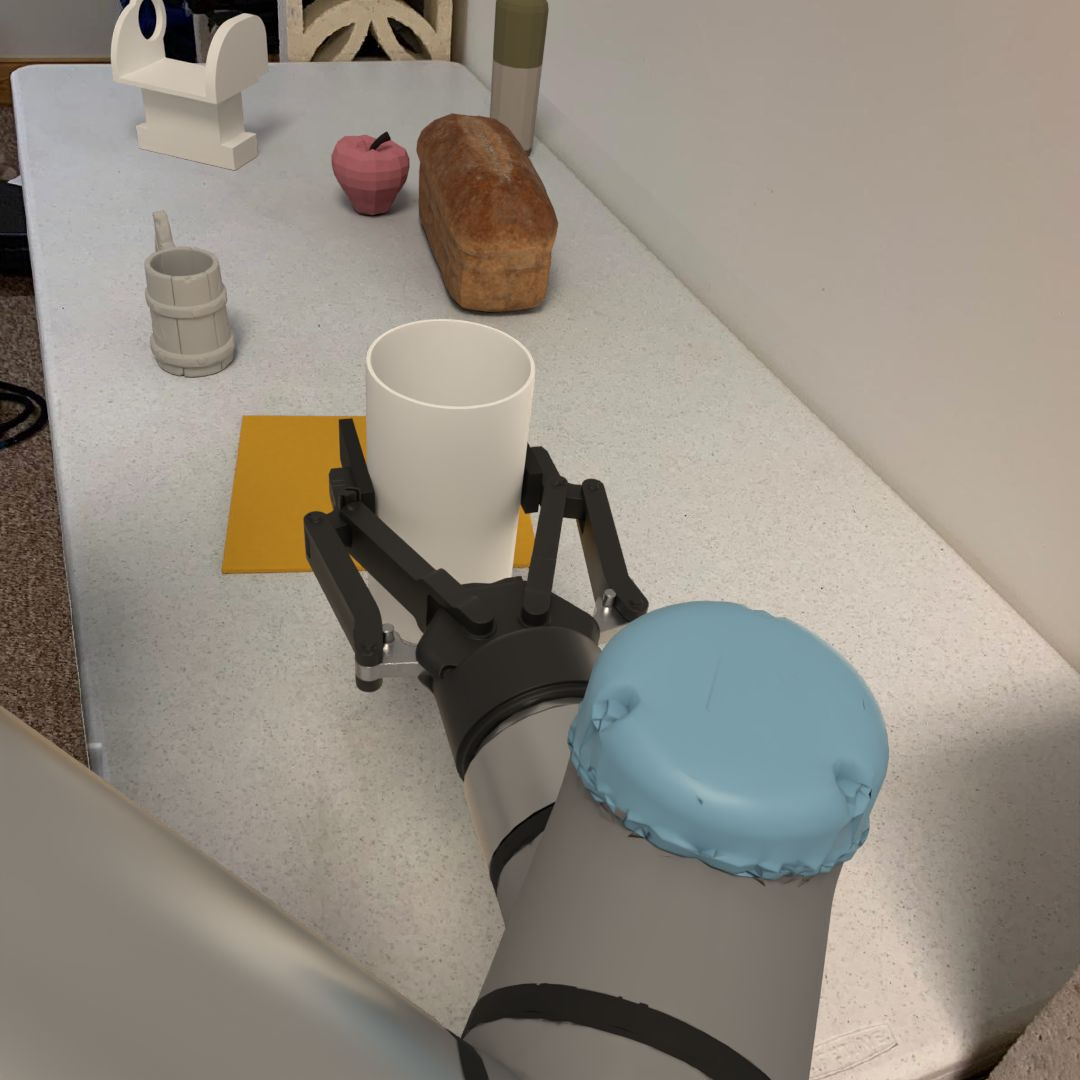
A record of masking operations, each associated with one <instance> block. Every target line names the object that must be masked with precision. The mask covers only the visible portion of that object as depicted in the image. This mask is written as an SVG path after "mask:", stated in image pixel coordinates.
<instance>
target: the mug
mask: <svg viewBox="0 0 1080 1080" xmlns="http://www.w3.org/2000/svg"><path fill="white" fill-rule="evenodd" d="M152 219H153V224H154V232H155V233H154V252H153V253H151V254H149V255H148V257H146V259H144V264H143V265H144V273H145V281H146V282H145V283H146V287H145V291H144V297H145V302H146V305H147V307H148V308H149V313H150V320H151V330H152V333H151V335H150V339H149V344H150V350H151V352H152V353H151V354H153V356H154V357H155V359H156V362H157V363H158V364H159V367H160V368H161V369H162V370H164V371H165V372H167V373H169V374H172V375H176V376H178V377H181V376H184V377H186V378H198V377H199V378H201V377H205V376H210V375H214V374H217V373H219V372H221V371H222V370H225V369H226V368H227V367H228V366H229V364H230V363H231V362H233V360H234V356H235V355H234V351H235V350H236V344H237V343H236V336H235V332H234V331H233V330H232V328H231V327H230V321H229V315H228V310H227V303H228V292H227V287H226V285H225V284H224V283H223V278H222V272H221V267H220V261H219V260H218V257H217V256H216V255H215V254H214V253H212V252H211V251H209V250H206V249H204V248H201V247H196V246H194V247H191V246H187V245H178V246H176V245H175V243H174V240H173V235H172V229H171V225H170V220H169V217H168V213H167V212H166V211H165V210H164V209H163V210H159V211H158V210H157V211H154V212H152Z"/></svg>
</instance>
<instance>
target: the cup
mask: <svg viewBox="0 0 1080 1080" xmlns="http://www.w3.org/2000/svg"><path fill="white" fill-rule="evenodd" d="M365 358H366V359H365V416H366V447H367V469H368V472H369V475H370V478H371V481H372V485H373V488H374V491H375V515H376V516H377V517H379V518H380V519H381V520H382V521H383V522H384V523H385V524H386V525H387V526H388V527H389V528H391V529H392V530H393V531H394V532H395V533H396V534H397V535H398V536H399V537H400V538H402V539H403V540H404V541H405V542H406V543H407V544H408V545H409V546H410V547H411V548H412V549H414V550H415V551H416V552H417V553H418V554H419V555H420V556H421V557H422V558H423V559H424V560H426V561H427V562H428V563H429V564H430V565H431V566H432V567H433V568H434V569H436V570H438V569H440V568H443V569H444V570H446V571H447V572H448V573H449V574H450V575H451V576H452V577H453V578H454V579H455V580H457V581H458V582H459V583H460V584H467V583H493V582H496V581H499V580H502V579H504V578H509V577H513V568H514V567H513V560H514V551H515V543H516V534H517V526H518V518H519V509H520V501H521V492H522V484H523V475H524V467H525V459H526V450H527V442H528V443H529V441H528V440H529V434H530V433H529V432H530V425H531V416H532V407H533V398H534V388H535V380H536V364H535V360H534V358H533V356H532V354H531V352H530V351H529V349H527V348H526V346H525V345H524V344H523V343H521V342H520V341H519V340H517V338H514V336H512V335H510V334H508V333H506V332H504V331H502V330H500V329H498V328H495V327H493V326H489V325H486V324H482V323H478V322H475V321H468V320H462V319H453V318H451V319H450V318H434V319H433V318H432V319H421V320H415V321H412V322H407V323H403V324H400V325H398V326H395V327H393V328H391V329H388V330H387V331H385V332H383V333H382V334H380V335H378V337H377V338H375V340H373V342H372V343H371V344H370V346H369V347H368V349H367V353H366V357H365ZM367 587H368V589H369V591H370V592H371V594H372V596H373V598H374V600H375V601H376V603H377V606H378V608H379V610H380V614H381V617H382V625H383V624H386V623H389V624H392V625H393V626H394V631H396V632H397V633H398V634H399V635H400V637H401V639H402V640H404V641H407V642H409V643H411V644H414V645H415V644H416V645H417V644H418V642H419V640H420V639H421V637H422V635H423V633H422V632H421V630H420V629H419V627H418V625H417V622H416V620H415V618H414V617H413V615H412V614H410V613H409V612H408V611H407V610H406V609H405V608H404V607H403V606H402V605H401V604H400V603H399V602H398V601H397V600H396V599H395V598H394V597H393V596H392V595H391V594H390V593H389V592H388V591H387V590H386V589H385V588H384V587H383V586H382V585H381V584H380V583H379V582H378V581H377V580H375V579H374V578H373V577H372V576H371V575H370V574H369V573H368V572H367Z"/></svg>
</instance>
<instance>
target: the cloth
mask: <svg viewBox="0 0 1080 1080" xmlns="http://www.w3.org/2000/svg"><path fill="white" fill-rule="evenodd" d="M349 418H353V422H354V425H355V428H356V432H357V435H358V438H359V442H360V445H361V448H362V452H363V455H364V458H365V461H366V465H367V447H366V415H262V414H261V415H253V414H252V415H245V414H243V415H242V420H241V427H240V434H239V442H238V449H237V456H236V462H235V463H236V464H235V471H234V476H233V477H234V478H233V484H232V485H233V486H232V492H231V499H230V507H229V514H228V521H227V527H226V528H227V529H226V534H225V535H226V536H225V543H224V549H223V550H224V551H223V556H222V563H221V564H222V565H221V573H222V574H251V573H252V574H254V573H301V572H302V573H303V572H306V573H307V572H308V573H309V572H313V571H312V569H311V567H310V565H309V563H308V561H307V559H306V551H305V538H304V522H303V518H304V516H305V515H306V514H307V513H310V512H312V511H320V512H323V513H325V514H328V513H330V512H332V511H333V507H332V504H331V500H330V495H329V472H330V470H331V468H341V467H342V465H341V461H340V445H339V419H349ZM534 541H535V532H534V528H533V523H532V519H531V513H528V514H525V513H524V511H523V508H522V506H521V504H520V509H519V518H518V526H517V534H516V543H515V551H514V560H513V568H529V566H530V561H531V556H532V552H533V547H534ZM349 555H350V554H349ZM350 557H351V558H352V560H353V562H354V564H355V566H356V567H357V569H358V571H366V570H365V569H364V568H363V567H362V566H361V565H360V564H359V563H358V562H357V561H356V560H355V559H354V558H353V557H352V556H351V555H350Z"/></svg>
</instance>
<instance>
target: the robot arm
mask: <svg viewBox="0 0 1080 1080" xmlns="http://www.w3.org/2000/svg"><path fill="white" fill-rule="evenodd" d="M339 445H340V461H341V465H342V467H341V468H331V470H330V472H329V495H330V500H331V504H332V507H333V511H332V512H330V513H328V514H325V513H323V512H320V511H312V512H310V513H307V514H306V515H305V516H304V518H303V522H304V538H305V551H306V559H307V561H308V563H309V565H310V567H311V569H312V571H311V572H313V575H314V577H315V579H316V580H317V583H318V584H319V586H320V589H321V590H322V592H323V594H324V596H325V598H326V600H327V602H328V604H329V605H330V607H331V610H332V611H333V613H334V616H335V618H336V619H337V621H338V623H339V625H340V627H341V630H342V631H343V633H344V635H345V637H346V639H347V641H348V643H349V645H350V647H351V649H352V651H353V653H354V673H355V675H354V677H355V681H354V682H355V685H356V688H357V689H358V690H359V691H361V692H363V693H374V692H377V691H379V690H380V689H381V688H382V687H383V683H384V679H394V678H395V679H399V678H417V680H418V681H419V683H421V685H422V686H424V687H425V688H426V689H427V690H428V691H429V692H430V693H431V694H432V695H433V697H434V700H435V702H436V705H437V709H438V712H439V715H440V718H441V722H442V726H443V728H444V732H445V735H446V738H447V742H448V745H449V748H450V752H451V755H452V759H453V762H454V765H455V769H456V771H457V774H458V776H459V778H460V780H462V782H463V792H462V793H463V795H464V798H465V801H466V805H467V809H468V812H469V815H470V818H471V821H472V825H473V828H474V831H475V835H476V839H477V841H478V845H479V848H480V851H481V855H482V858H483V861H484V862H483V863H484V865H485V868H486V872H487V874H488V878H489V881H490V882H491V884H492V888H493V891H494V894H495V897H496V900H497V904H498V907H499V910H500V914H501V917H502V921H503V924H504V927H505V928H504V931H503V934H502V936H501V939H500V941H499V944H498V947H497V948H496V951H495V953H494V956H493V959H492V962H491V964H490V966H489V969H488V971H487V974H486V977H485V979H484V982H483V985H482V986H481V989H480V992H479V994H478V997H477V999H476V1001H475V1004H474V1006H473V1007H472V1009H471V1011H470V1013H469V1015H468V1018H467V1020H466V1023H465V1025H464V1028H463V1031H462V1033H461V1035H460V1036H459V1035H458V1034H455V1033H454V1032H453V1031H451V1030H450V1029H449V1028H446V1027H445V1026H444V1025H443V1024H442V1023H441V1022H440V1021H439V1020H438V1019H437V1018H436V1017H434V1016H433V1015H432V1014H430V1013H429V1012H428V1011H426V1010H425V1009H423V1008H422V1007H421V1006H419V1005H418V1004H416V1003H415V1002H414V1001H412V1000H410V999H409V997H406V996H405V994H403V993H401V992H399V991H398V990H397V989H395V988H394V987H393V986H391V985H390V984H388V983H387V982H386V981H385V980H383V979H382V978H381V977H379V976H377V974H375V973H373V972H372V971H371V970H369V969H368V968H367V967H365V966H364V965H362V964H361V963H359V962H358V961H356V960H355V959H354V958H353V957H352V956H350V955H348V954H347V953H346V952H344V951H343V950H342V949H340V948H339V947H338V946H336V945H335V944H333V943H332V942H330V941H329V940H327V939H326V938H325V937H324V936H322V935H321V934H319V933H317V932H316V931H315V930H314V929H312V928H310V927H309V926H308V925H307V924H305V923H304V922H302V921H301V920H300V919H298V918H297V917H295V916H294V915H293V914H292V913H290V912H289V911H287V910H286V909H284V908H283V907H281V906H280V905H279V904H277V903H276V902H275V901H273V900H272V899H270V898H269V897H268V896H266V895H265V894H263V892H261V891H259V890H258V889H256V888H255V887H254V886H252V885H251V884H250V883H248V882H247V881H246V880H244V879H243V878H241V877H240V876H238V875H237V874H236V873H234V872H233V871H231V870H230V869H229V868H227V867H226V866H225V865H223V864H222V863H220V862H219V861H217V860H216V859H215V858H214V857H212V856H211V855H209V854H208V853H206V851H203V850H202V849H201V848H200V847H199V846H197V845H196V844H194V843H192V842H191V841H190V840H188V839H187V838H186V837H184V836H183V835H182V834H180V833H179V832H177V831H176V830H174V829H173V828H172V827H170V826H169V825H168V824H166V823H165V822H163V821H162V820H161V819H160V818H158V817H157V816H155V815H154V814H152V813H151V812H149V811H148V810H147V809H145V808H144V807H142V805H140V804H138V803H137V802H136V801H134V800H133V799H131V798H130V797H128V795H126V794H124V793H123V792H122V791H121V790H119V789H117V788H116V787H115V786H113V785H112V784H111V783H109V782H108V781H107V780H105V779H104V778H102V777H101V776H99V775H98V774H97V773H95V771H93V770H92V769H90V768H89V767H87V766H86V765H84V764H83V763H81V762H80V761H79V760H77V759H76V758H74V757H73V756H72V755H70V754H69V753H67V752H66V751H65V750H64V749H62V748H61V747H59V746H58V745H56V744H55V743H54V742H52V741H51V740H50V739H49V738H47V737H45V736H44V735H43V734H41V733H40V732H38V731H37V730H36V729H35V728H33V727H32V726H30V725H29V724H27V723H26V722H25V721H23V720H22V719H20V718H19V717H18V716H16V715H15V714H14V713H13V712H11V711H9V710H8V709H6V708H5V707H3V705H1V704H0V1080H810V1075H811V1068H812V1060H813V1053H814V1045H815V1038H816V1032H817V1031H816V1030H817V1023H818V1015H819V1009H820V1002H821V994H822V986H823V979H824V970H825V964H826V963H825V961H826V955H827V947H828V940H829V932H830V925H831V917H832V916H831V915H832V907H833V902H834V896H835V893H836V888H837V885H838V881H839V878H840V875H841V872H842V869H843V866H844V864H845V863H847V862H848V861H851V860H852V859H853V857H854V856H855V855H856V853H857V851H858V850H859V848H861V847H862V846H863V845H864V844H865V842H866V841H867V839H868V836H869V832H870V829H871V825H870V824H871V823H870V821H871V819H870V816H871V813H872V810H873V808H874V806H875V804H876V801H877V800H878V796H879V794H880V792H881V789H882V787H883V785H884V783H885V779H886V777H887V773H888V767H889V761H890V746H889V737H888V730H887V725H886V721H885V718H884V715H883V712H882V709H881V707H880V705H879V702H878V700H877V697H875V694H874V693H873V691H872V689H871V687H870V686H869V684H868V683H867V681H866V680H865V678H864V677H863V676H862V675H861V673H860V672H859V671H858V670H857V668H855V667H854V665H853V664H852V663H851V662H850V661H849V660H848V659H847V658H846V657H845V656H844V655H843V654H842V653H841V652H840V651H839V650H837V648H836V647H834V646H833V645H832V644H831V643H830V642H828V641H827V640H826V639H824V638H823V637H822V636H820V635H819V634H817V633H816V632H815V631H813V630H812V629H809V628H808V627H806V626H804V625H803V624H801V623H799V622H797V621H794V620H792V619H790V618H788V617H785V616H774V615H772V614H771V613H769V612H767V611H765V610H763V609H752V608H750V607H749V606H747V605H746V604H743V603H739V602H738V603H737V602H732V601H725V600H724V601H721V600H692V601H684V602H679V603H674V604H670V605H666V606H663V607H659V608H656V609H653V610H650V611H648V610H649V607H650V602H649V600H648V598H647V597H646V596H645V595H644V593H643V592H642V590H640V588H639V586H638V585H637V584H636V583H635V582H634V580H633V579H632V578H631V577H630V575H629V572H628V568H627V563H626V561H625V557H624V553H623V549H622V546H621V545H622V544H621V542H620V538H619V535H618V531H617V527H616V523H615V520H614V517H613V513H612V509H611V505H610V501H609V498H608V494H607V491H606V487H605V484H604V483H603V481H601V480H599V479H596V478H586V479H584V480H583V481H582V482H581V484H576V483H570V482H569V480H568V479H567V478H566V477H564V476H563V475H561V474H560V472H559V471H558V469H557V466H556V464H555V463H554V460H553V459H552V457H551V455H550V453H549V451H548V450H547V449H546V448H545V447H543V446H542V445H538V446H531V445H530V444H529V441H528V442H527V450H526V459H525V467H524V475H523V484H522V492H521V501H520V504H521V506H522V508H523V511H524V513H525V514H528V513H530V514H536V513H539V515H538V520H537V526H536V531H535V535H534V537H535V541H534V547H533V552H532V556H531V561H530V566H529V567H528V572H527V578H526V580H525V579H524V578H523V576H522V575H517V576H512V577H509V578H504V579H502V580H499V581H496V582H493V583H467V584H460V583H459V582H458V581H457V580H455V579H454V578H453V577H452V576H451V575H450V574H449V573H448V572H447V571H446V570H444V569H443V568H440V569H438V570H436V569H434V568H433V567H432V566H431V565H430V564H429V563H428V562H427V561H426V560H424V559H423V558H422V557H421V556H420V555H419V554H418V553H417V552H416V551H415V550H414V549H412V548H411V547H410V546H409V545H408V544H407V543H406V542H405V541H404V540H403V539H402V538H400V537H399V536H398V535H397V534H396V533H395V532H394V531H393V530H392V529H391V528H389V527H388V526H387V525H386V524H385V523H384V522H383V521H382V520H381V519H380V518H379V517H377V516H376V515H375V491H374V488H373V485H372V481H371V478H370V475H369V472H368V469H367V465H366V461H365V458H364V455H363V452H362V448H361V445H360V442H359V438H358V435H357V432H356V428H355V425H354V422H353V418H349V419H339ZM564 519H571V520H575V522H576V527H577V530H578V535H579V539H580V540H579V541H580V543H581V548H582V552H583V557H584V561H585V565H586V569H587V574H588V575H587V576H588V578H589V579H588V580H589V583H590V587H591V592H592V596H593V601H594V607H593V612H592V614H590V613H588V612H587V611H585V610H583V609H581V608H580V607H579V606H577V605H575V604H573V603H571V602H570V601H568V600H566V599H564V598H563V597H561V596H560V595H558V594H557V593H555V592H553V587H554V580H555V573H556V565H557V560H558V553H559V547H560V539H561V534H562V533H561V532H562V527H563V520H564ZM349 554H350V555H351V556H352V557H353V558H354V559H355V560H356V561H357V562H358V563H359V564H360V565H361V566H362V567H363V568H364V569H365V570H364V571H366V572H367V574H368V573H369V574H370V575H371V576H372V577H373V578H374V579H375V580H377V581H378V582H379V583H380V584H381V585H382V586H383V587H384V588H385V589H386V590H387V591H388V592H389V593H390V594H391V595H392V596H393V597H394V598H395V599H396V600H397V601H398V602H399V603H400V604H401V605H402V606H403V607H404V608H405V609H406V610H407V611H408V612H409V613H410V614H412V615H413V617H414V618H415V620H416V622H417V625H418V627H419V629H420V630H421V632H422V633H423V635H422V637H421V639H420V640H419V642H418V644H416V645H410V644H407V643H406V642H404V641H403V639H401V637H400V635H399V634H398V633H397V632H396V631H394V626H393V625H392V624H389V623H386V624H383V625H382V617H381V614H380V610H379V608H378V606H377V603H376V601H375V600H374V598H373V596H372V594H371V592H370V591H369V589H368V584H366V581H365V580H364V578H363V576H362V575H361V573H360V570H358V569H357V567H356V566H355V564H354V562H353V560H352V558H351V557H350V555H349ZM603 644H605V646H604V647H603V649H601V647H600V646H601V645H603Z"/></svg>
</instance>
